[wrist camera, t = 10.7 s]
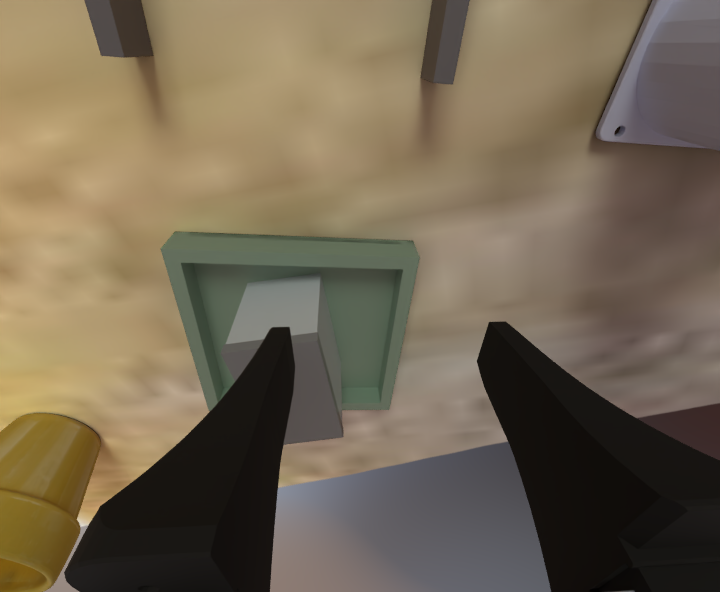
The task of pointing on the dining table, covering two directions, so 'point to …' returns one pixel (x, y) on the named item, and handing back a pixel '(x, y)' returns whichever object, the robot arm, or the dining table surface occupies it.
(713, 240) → the dining table surface
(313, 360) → the grey upright block
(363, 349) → the tray
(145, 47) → the frame
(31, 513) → the plant pot
